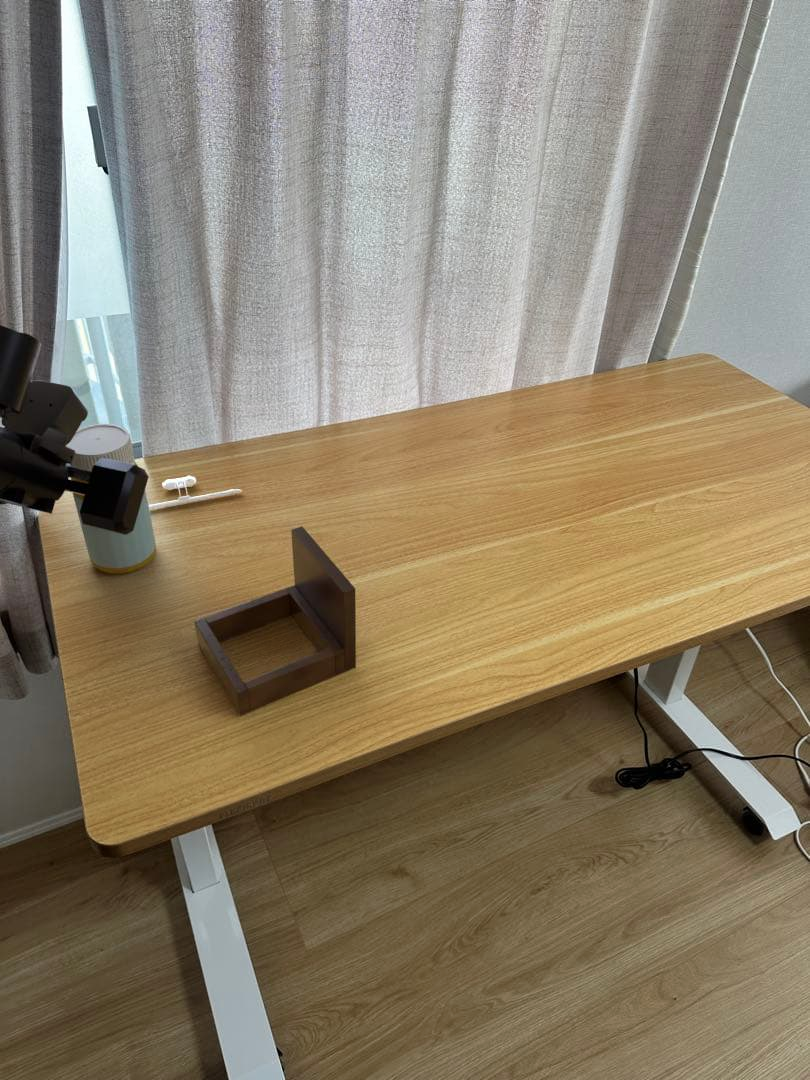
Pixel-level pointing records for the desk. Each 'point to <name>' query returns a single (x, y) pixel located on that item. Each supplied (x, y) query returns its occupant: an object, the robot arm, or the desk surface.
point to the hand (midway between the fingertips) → (96, 500)
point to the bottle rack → (318, 610)
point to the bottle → (139, 545)
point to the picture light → (187, 499)
